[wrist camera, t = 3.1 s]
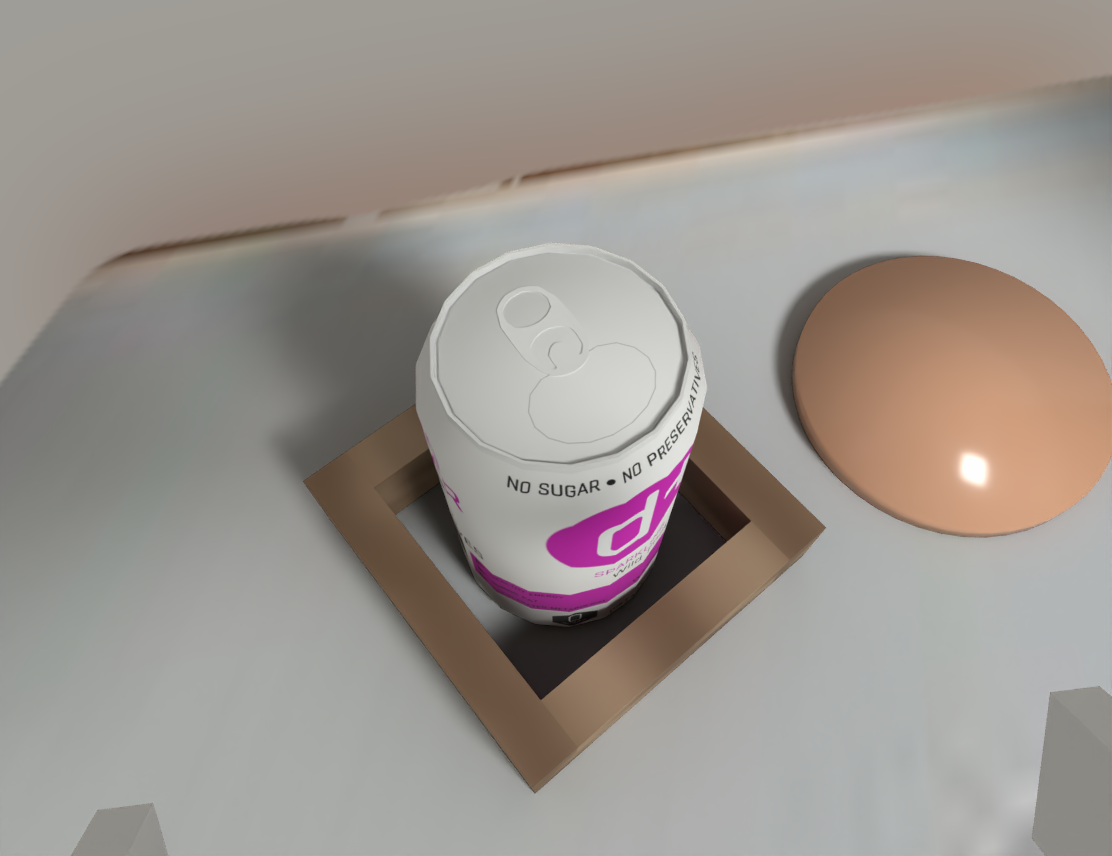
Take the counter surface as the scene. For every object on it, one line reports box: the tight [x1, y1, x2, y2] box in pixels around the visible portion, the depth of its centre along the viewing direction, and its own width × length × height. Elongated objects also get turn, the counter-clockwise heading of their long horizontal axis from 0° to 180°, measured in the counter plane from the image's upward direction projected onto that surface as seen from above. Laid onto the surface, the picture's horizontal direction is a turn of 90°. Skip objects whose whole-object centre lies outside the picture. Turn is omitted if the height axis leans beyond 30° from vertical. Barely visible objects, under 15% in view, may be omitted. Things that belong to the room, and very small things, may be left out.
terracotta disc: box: [792, 256, 1112, 537], centre depth 38 cm, size 14×14×1 cm
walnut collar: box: [303, 404, 826, 793], centre depth 34 cm, size 14×14×4 cm
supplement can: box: [416, 243, 707, 627], centre depth 29 cm, size 8×8×15 cm
